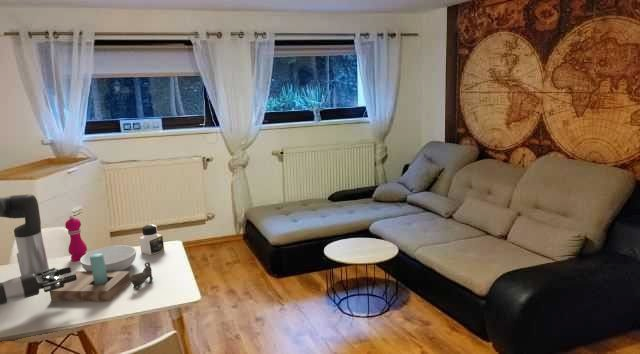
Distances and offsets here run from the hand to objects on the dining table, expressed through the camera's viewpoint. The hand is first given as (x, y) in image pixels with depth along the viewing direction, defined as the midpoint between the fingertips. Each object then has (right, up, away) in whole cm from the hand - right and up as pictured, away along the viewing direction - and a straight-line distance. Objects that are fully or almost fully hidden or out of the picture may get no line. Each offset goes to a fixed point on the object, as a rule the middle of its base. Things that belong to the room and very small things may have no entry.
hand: (73, 272), depth 169 cm
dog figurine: (+21, -7, +10) cm, 24 cm away
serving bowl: (+2, -4, +26) cm, 26 cm away
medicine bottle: (+13, +1, +43) cm, 45 cm away
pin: (+7, -8, +7) cm, 13 cm away
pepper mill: (-17, -2, +39) cm, 43 cm away
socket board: (+3, -8, +8) cm, 12 cm away
